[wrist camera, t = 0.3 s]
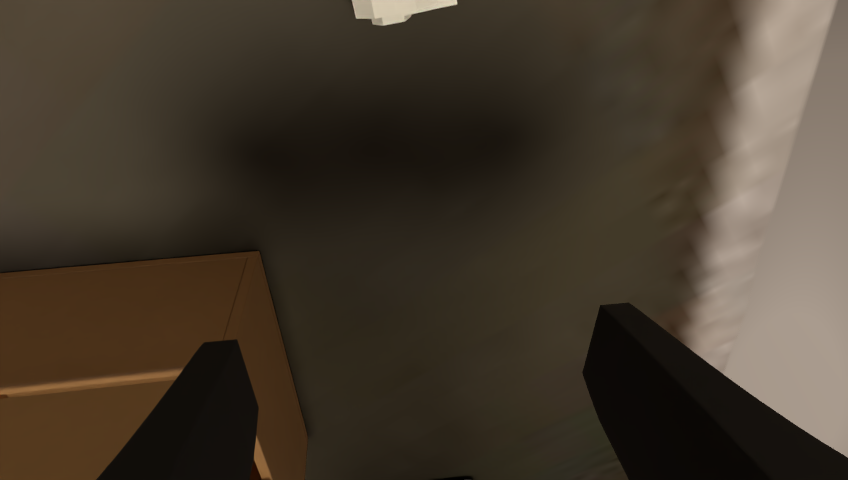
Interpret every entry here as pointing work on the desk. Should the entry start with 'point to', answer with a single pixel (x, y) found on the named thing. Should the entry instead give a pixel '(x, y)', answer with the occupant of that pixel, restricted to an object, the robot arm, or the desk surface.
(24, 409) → the flap
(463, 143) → the desk surface
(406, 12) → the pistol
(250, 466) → the robot arm
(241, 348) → the carton
